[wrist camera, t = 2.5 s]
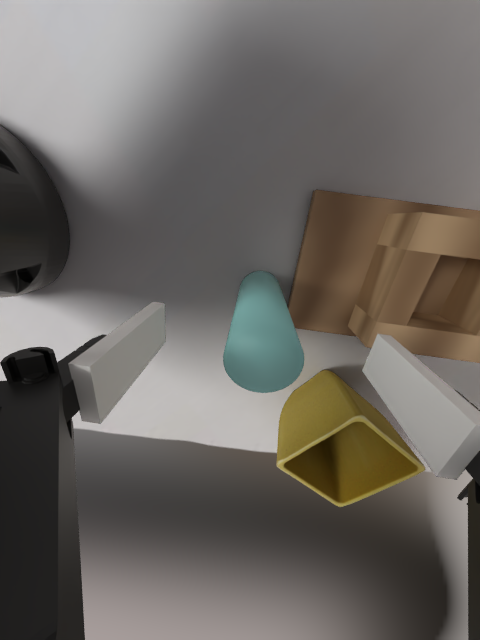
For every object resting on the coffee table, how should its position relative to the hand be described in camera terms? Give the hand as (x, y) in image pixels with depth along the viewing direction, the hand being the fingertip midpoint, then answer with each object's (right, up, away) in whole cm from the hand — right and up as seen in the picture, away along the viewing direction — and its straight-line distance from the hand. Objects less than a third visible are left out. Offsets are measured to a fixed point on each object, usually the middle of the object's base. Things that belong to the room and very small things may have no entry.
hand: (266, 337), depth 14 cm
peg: (0, +4, +8) cm, 9 cm away
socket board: (+12, +5, +7) cm, 14 cm away
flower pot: (+8, -8, +13) cm, 17 cm away
